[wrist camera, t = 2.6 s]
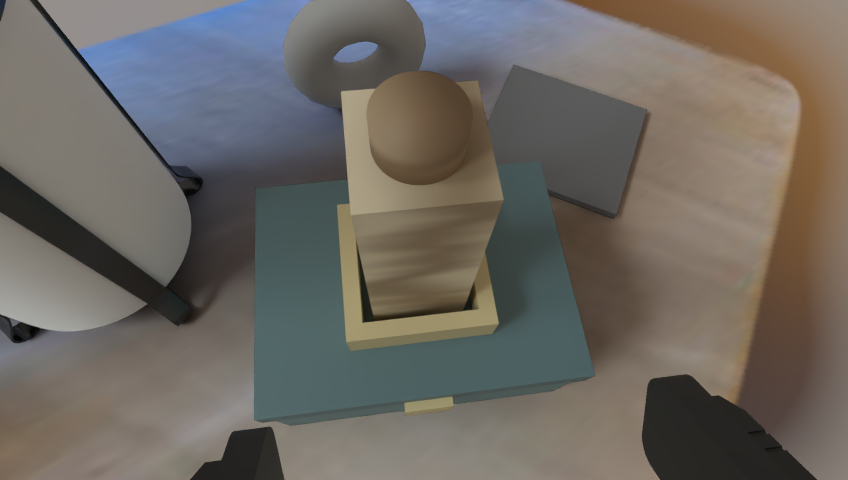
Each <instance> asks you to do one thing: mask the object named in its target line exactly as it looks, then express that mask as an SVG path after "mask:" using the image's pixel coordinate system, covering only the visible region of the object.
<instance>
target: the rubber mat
mask: <svg viewBox="0 0 848 480" xmlns="http://www.w3.org/2000/svg"><path fill="white" fill-rule="evenodd" d="M646 111H647V109H644V108H641V107H638V106H635V105H632V104H629V103H626V102H623V101H620V100H617V99H614V98H611V97H608V96H605V95H602V94H599V93H596V92H593V91H590V90H588V89H585V88H582V87H579V86H576V85H573V84H570V83H567V82H564V81H561V80H558V79H555V78H552V77H549V76H546V75H543V74H540V73H537V72H534V71H531V70H528V69H525V68H522V67H519V66H516V65H513V68H512V70H511V72H510V74H509V77H508V79H507V81H506V83H505V85H504V88H503V90H502V92H501V94H500V97H499V99H498V101H497V103H496V105H495V108H494V110H493V112H492V114H491V117H490V119H489V121H488V123H487V125H488V129H489V134H490V138H491V143H492V148H493V152H494V157H495V162H496V165H505V164H516V163H526V162H537V161H540V164H541V168H542V172H543V176H544V179H545V183H546V187H547V191H548V194H549V195H551V196H554V197H557V198H560V199H562V200H565V201H568V202H570V203H573V204H576V205H578V206H581V207H584V208H587V209H589V210H592V211H595V212H597V213H600V214H603V215H606V216H608V217H611V218H614V217H615V216H616V214H617V211H618V207H619V204H620V201H621V197H622V194H623V190H624V187H625V183H626V180H627V177H628V173H629V170H630V166H631V163H632V159H633V156H634V153H635V149H636V146H637V142H638V139H639V135H640V132H641V129H642V125H643V122H644V118H645V115H646Z"/></svg>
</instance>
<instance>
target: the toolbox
mask: <svg viewBox="0 0 848 480" xmlns="http://www.w3.org/2000/svg"><path fill="white" fill-rule="evenodd" d="M496 166H497V171H498V175H499V180H500V185H501V189H502V194H503V198H504V201H503V204H502V206H501V209H500V212H499V214H498V217H497V220H496V223H495V225H494V228H493V231H492V233H491V236H490V239H489V242H488V244H487V247H486V250H485V253H484V255H483V258H482V261H481V263H480V266H479V269H478V272H477V274H476V277H475V280H474V282H473V285H472V288H471V291H470V293H469V296H468V299H467V302H466V304H465V307H464V310H463V311H460V312H451V313H443V314H434V315H426V316H417V317H409V318H400V319H392V320H383V321H374V317H373V312H372V308H371V303H370V299H369V295H368V290H367V286H366V281H365V277H364V272H363V268H362V263H361V259H360V254H359V250H358V246H357V241H356V237H355V232H354V228H353V223H352V219H351V213H350V200H349V188H348V179H346V180H336V181H325V182H315V183H304V184H293V185H283V186H272V187H262V188H255V343H254V420H255V421H259V422H262V423H264V422H271V421H278V422H281V423H284V424H287V425H290V426H291V425H299V424H306V423H314V422H321V421H329V420H337V419H344V418H352V417H359V416H367V415H374V414H382V413H389V412H397V411H405V416H410V415H417V414H425V413H432V412H440V411H447V410H451V409H452V408H453V406H454V404H458V403H465V402H473V401H480V400H488V399H495V398H503V397H511V396H518V395H526V394H533V393H541V392H548V391H554V390H556V389H558V388H560V387H561V386H563V385H565V384H567V383H569V382H576V381H584V380H587V379H589V378H591V377H593V376H595V373H594V369H593V365H592V361H591V357H590V354H589V350H588V346H587V342H586V338H585V334H584V330H583V326H582V323H581V319H580V315H579V311H578V307H577V303H576V299H575V296H574V292H573V288H572V284H571V280H570V276H569V272H568V268H567V265H566V261H565V257H564V253H563V249H562V245H561V241H560V237H559V234H558V230H557V226H556V222H555V218H554V214H553V210H552V206H551V203H550V199H549V195H548V191H547V187H546V183H545V179H544V176H543V172H542V168H541V164H540V161H537V162H526V163H516V164H505V165H496Z"/></svg>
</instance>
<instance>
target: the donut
mask: <svg viewBox="0 0 848 480" xmlns="http://www.w3.org/2000/svg"><path fill="white" fill-rule="evenodd" d="M365 41H367V42H372V43H376V44H378V47H377V49H376V51H375V52H374V53H373V54H372V55H370V56H369V57H367V58H365V59H363V60H360V61H357V62H352V63H342V62H338V61H336V60H334V59H333V58H334V56H335V55H336V54H337V53H338V52H339V51H340V50H341V49H342V48H344V47H346V46H347V45H350V44H353V43H357V42H365ZM425 46H426V42H425V36H424V29H423V24H422V21H421V20H420V18H419V17H418V15H417V14H416V12H415V11H414V9H413V8H412V6H411V5H410V3H408V2H407V1H405V0H312V1H311V2H309V3H308V4H306V5H305V6H304V7H303V8H302V9H301V10H300V12H299V13H298V14H297V15H296V17H295V18H294V19H293V20H292V22H291V23H290V25H289V28H288V31H287V34H286V37H285V40H284V43H283V54H284V67H285V69H286V71H287V73H288V75H289V77H290V79H291V81H292V82H293V84H294V86H295V87H296V88H297V89H298V90H299V91H300V92H301V93H303V94H304V95H305V96H306V97H308V98H309V99H310V100H311V101H314V102H316V103H319V104H322V105H324V106H327V107H331V108H341V109H342V99H341V91H351V90H364V89H376V88H377V87H378V86H379V85H380V84H381V83H383V82H384V81H385V80H387V79H388V78H390V77H392V76H395V75H397V74H400V73H404V72H410V71H418V69H419V68H420V66H421V63H422V59H423V55H424V51H425Z"/></svg>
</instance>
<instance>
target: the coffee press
mask: <svg viewBox="0 0 848 480" xmlns="http://www.w3.org/2000/svg"><path fill="white" fill-rule="evenodd" d="M164 166H165V167H166V168H168V169H169V170H170V171H171V172H173V173H174V174H175V175H176V176H178V177H181V178H186V179H185V180H184V181H183V182H181V183H178V184H177V182H176V181H175V180H174V178H173V177H172V176H171V174H170V173H169V172H168V171H167V169H166V168H165V167H164ZM202 184H203V180H202V178H201V177H199V176H198V175H197V174H196V173H194V172H193V171H192V170H191V169H189V168H188V167H185V166H170V165H169V164H168V163H167V162H166V161H165V160H164V158H163V157H162V156H161V155H160V153H159V152H158V151H157V150H156V148H155V147H154V146H153V145H152V143H151V142H150V141H149V140H148V138H147V137H146V136H145V135H144V133H143V132H142V131H141V130H140V128H139V127H138V126H137V125H136V123H135V122H134V121H133V120H132V118H131V117H130V116H129V115H128V113H127V112H126V111H125V110H124V108H123V107H122V106H121V105H120V103H119V102H118V101H117V100H116V98H115V97H114V96H113V95H112V93H111V92H110V91H109V90H108V88H107V87H106V86H105V85H104V83H103V82H102V81H101V79H100V78H99V77H98V76H97V74H96V73H95V72H94V71H93V69H92V68H91V67H90V66H89V64H88V63H87V62H86V61H85V59H84V58H83V57H82V56H81V54H80V53H79V52H78V51H77V49H76V48H75V47H74V46H73V44H72V43H71V42H70V41H69V39H68V38H67V37H66V35H65V34H64V33H63V32H62V31H61V29H60V28H59V27H58V26H57V24H56V23H55V22H54V20H53V19H52V18H51V17H50V15H49V14H48V13H47V12H46V10H45V9H44V8H43V7H42V5H41V4H40V3H39V2H38V0H0V330H1V331H2V332H3V333H4V334H5V335H6V336H7V337H8V338H9V339H10V340H11V341H12V342H13V343H22V342H25V341H27V340H29V339H31V338H32V337H33V336H34V335H35V334H36V333H37V332H38V330H39V328H43V329H48V330H54V331H82V330H89V329H94V328H98V327H102V326H105V325H108V324H111V323H114V322H116V321H119V320H121V319H123V318H125V317H127V316H129V315H131V314H133V313H135V312H136V311H138V310H139V309H141V308H142V307H144V306H145V305H147V304H149V305H150V306H151V307H153V308H154V309H156V310H157V311H158V312H159V313H161V314H162V315H163V316H165V317H166V318H167V319H169V320H170V321H171V322H172V323H174V324H175V325H177V326H179V325H180V324H181V323H182V322H183V321H184V320H185V319H186V318H187V317H188V316H189V315H190V314H191V313H192V312H193V311H194V309H193V308H192V307H190V306H189V305H188V304H187V303H186V302H185V301H183V300H182V299H181V298H180V297H179V296H178V295H176V294H175V293H174V292H173V291H172V290H170V289H169V288H168V287H167V285H168V284H169V282H170V281H171V280H172V278H173V277H174V276H175V274H176V272H177V271H178V269H179V267H180V266H181V264H182V262H183V260H184V257H185V255H186V252H187V249H188V245H189V241H190V235H191V215H190V210H189V206H188V202H187V200H186V197H185V196H189V195H193V194H195V193H196V192H197V191H199V189H200V188H201V186H202ZM8 317H9V318H12V319H15V320H17V321H20V323H19V324H17V325H16V326H14V327H12V323H11V321H10V319H9V318H8Z"/></svg>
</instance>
